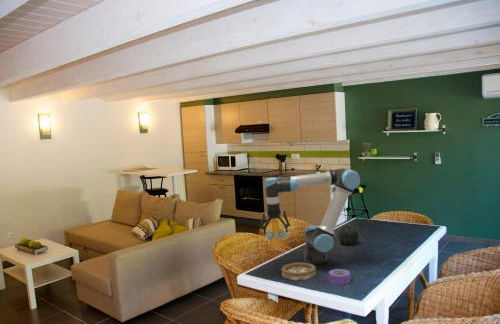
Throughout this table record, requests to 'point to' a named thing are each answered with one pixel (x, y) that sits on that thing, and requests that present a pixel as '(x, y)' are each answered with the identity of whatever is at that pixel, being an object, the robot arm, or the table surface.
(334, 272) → the tape roll
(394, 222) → the table surface
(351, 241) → the squash
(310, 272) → the round brown basket
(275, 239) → the orange upright piece
